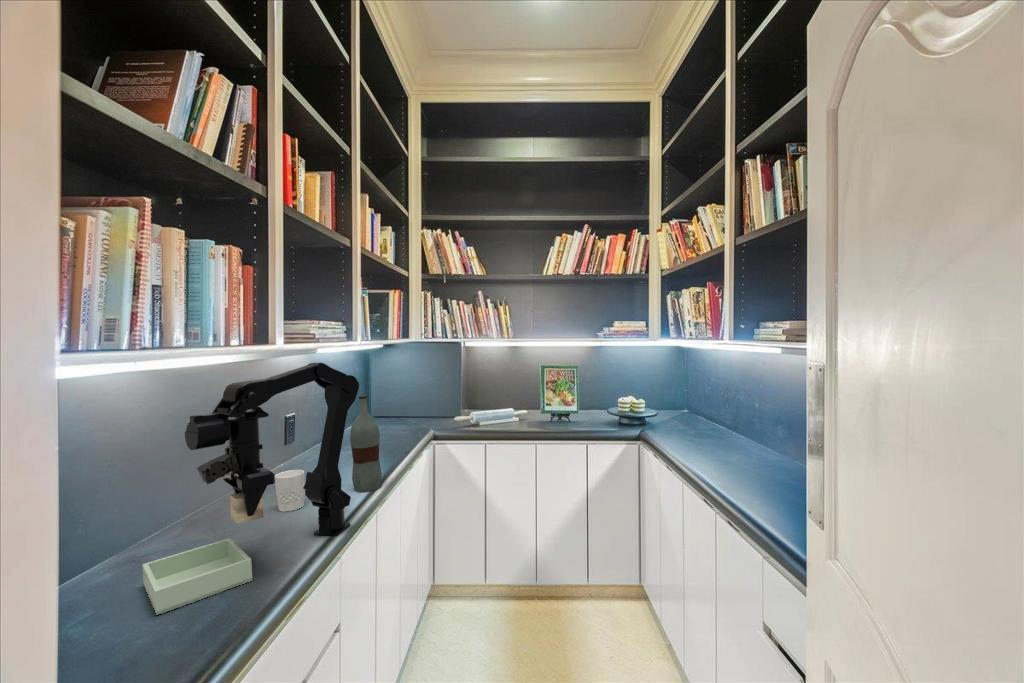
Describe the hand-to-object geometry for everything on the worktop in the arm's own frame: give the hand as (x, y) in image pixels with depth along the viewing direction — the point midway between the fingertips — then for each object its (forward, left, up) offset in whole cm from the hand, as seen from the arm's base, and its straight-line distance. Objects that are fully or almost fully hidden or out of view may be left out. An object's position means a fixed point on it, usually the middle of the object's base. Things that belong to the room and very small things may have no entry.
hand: (246, 512), depth 101 cm
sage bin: (+8, -5, -12) cm, 15 cm away
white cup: (-33, -14, -12) cm, 38 cm away
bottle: (-51, 0, -12) cm, 53 cm away
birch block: (0, 0, -1) cm, 1 cm away
